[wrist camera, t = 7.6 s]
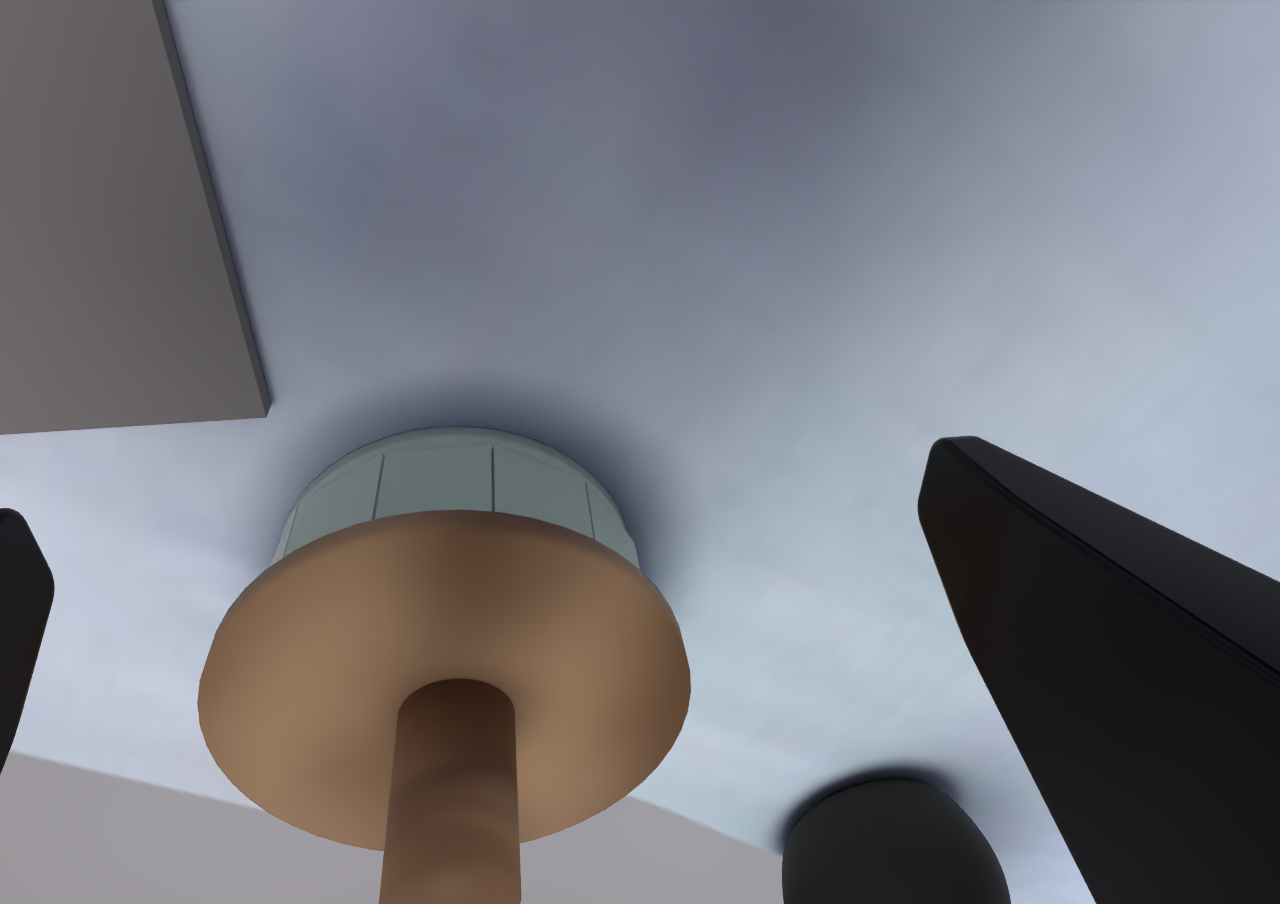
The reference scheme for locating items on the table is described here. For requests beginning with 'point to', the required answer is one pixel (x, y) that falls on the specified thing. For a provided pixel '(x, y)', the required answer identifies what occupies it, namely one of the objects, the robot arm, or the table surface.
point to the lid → (444, 693)
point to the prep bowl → (456, 486)
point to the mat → (111, 231)
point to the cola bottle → (890, 850)
